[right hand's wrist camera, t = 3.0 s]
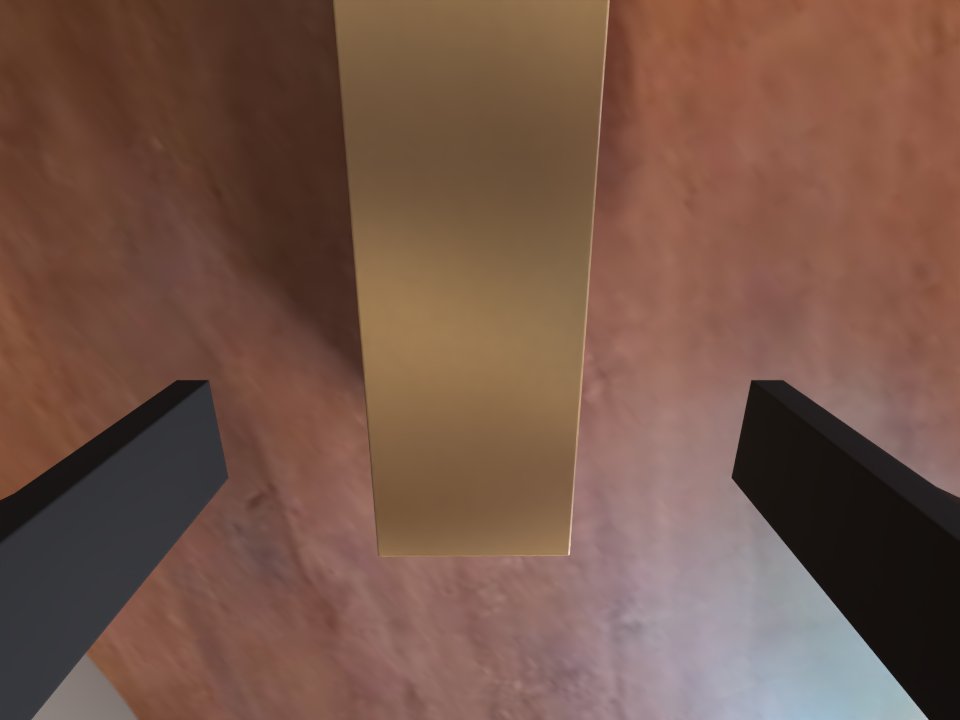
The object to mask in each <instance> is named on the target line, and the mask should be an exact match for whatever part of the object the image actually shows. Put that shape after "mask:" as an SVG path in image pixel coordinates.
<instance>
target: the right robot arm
mask: <svg viewBox="0 0 960 720" xmlns="http://www.w3.org/2000/svg"><path fill="white" fill-rule="evenodd" d="M227 479H228V473H227V468H226V464H225V459H224V454H223V449H222V444H221V439H220V434H219V429H218V424H217V419H216V414H215V409H214V404H213V399H212V395H211V390H210V385H209V380H177V381H175V382H174V383H172V384H171V385H170V386H168V387H167V388H165V389H164V390H162V391H161V392H159V393H158V394H157V395H155V396H154V397H152V398H151V399H149V400H148V401H147V402H145V403H144V404H142V405H141V406H139V407H138V408H136V409H135V410H134V411H132V412H131V413H129V414H128V415H126V416H125V417H124V418H122V419H121V420H119V421H118V422H116V423H115V424H114V425H112V426H111V427H109V428H108V429H106V430H105V431H103V432H102V433H101V434H99V435H98V436H96V437H95V438H93V439H92V440H91V441H89V442H88V443H86V444H85V445H83V446H82V447H80V448H79V449H78V450H76V451H75V452H73V453H72V454H70V455H69V456H68V457H66V458H65V459H63V460H62V461H60V462H59V463H58V464H56V465H55V466H53V467H52V468H50V469H49V470H47V471H46V472H45V473H43V474H42V475H40V476H39V477H37V478H36V479H35V480H33V481H32V482H30V483H29V484H27V485H26V486H24V487H23V488H22V489H20V490H19V491H17V492H16V493H14V494H12V495H10V496H8V497H6V498H4V499H2V500H0V720H31V719H32V718H33V717H34V716H35V714H36V713H37V712H38V711H39V709H40V708H41V707H42V706H43V705H44V703H45V702H46V701H47V700H48V698H49V697H50V696H51V695H52V694H53V692H54V691H55V690H56V689H57V687H58V686H59V685H60V684H61V682H62V681H63V680H64V679H65V678H66V676H67V675H68V674H69V673H70V671H71V670H72V669H73V668H74V667H75V665H76V664H77V663H78V662H79V660H80V659H81V658H82V657H83V655H84V654H85V653H86V652H87V651H88V649H89V648H90V647H91V646H92V644H93V643H94V642H95V641H96V640H97V638H98V637H99V636H100V635H101V633H102V632H103V631H104V630H105V629H106V627H107V626H108V625H109V624H110V622H111V621H112V620H113V619H114V618H115V616H116V615H117V614H118V613H119V611H120V610H121V609H122V608H123V606H124V605H125V604H126V603H127V602H128V600H129V599H130V598H131V597H132V595H133V594H134V593H135V592H136V591H137V589H138V588H139V587H140V586H141V584H142V583H143V582H144V581H145V579H146V578H147V577H148V576H149V575H150V573H151V572H152V571H153V570H154V568H155V567H156V566H157V565H158V564H159V562H160V561H161V560H162V559H163V557H164V556H165V555H166V554H167V553H168V551H169V550H170V549H171V548H172V546H173V545H174V544H175V543H176V541H177V540H178V539H179V538H180V537H181V535H182V534H183V533H184V532H185V530H186V529H187V528H188V527H189V526H190V524H191V523H192V522H193V521H194V519H195V518H196V517H197V516H198V514H199V513H200V512H201V511H202V510H203V508H204V507H205V506H206V505H207V503H208V502H209V501H210V500H211V499H212V497H213V496H214V495H215V494H216V492H217V491H218V490H219V489H220V488H221V486H222V485H223V484H224V483H225V481H226V480H227ZM732 479H733V480H734V481H735V483H736V484H737V485H738V486H739V488H740V489H741V490H742V491H743V492H744V494H745V495H746V496H747V497H748V499H749V500H750V501H751V502H752V503H753V505H754V506H755V507H756V508H757V510H758V511H759V512H760V513H761V514H762V516H763V517H764V518H765V519H766V521H767V522H768V523H769V524H770V526H771V527H772V528H773V529H774V530H775V532H776V533H777V534H778V535H779V537H780V538H781V539H782V540H783V541H784V543H785V544H786V545H787V546H788V548H789V549H790V550H791V551H792V553H793V554H794V555H795V556H796V557H797V559H798V560H799V561H800V562H801V564H802V565H803V566H804V567H805V568H806V570H807V571H808V572H809V573H810V575H811V576H812V577H813V578H814V579H815V581H816V582H817V583H818V584H819V586H820V587H821V588H822V589H823V591H824V592H825V593H826V594H827V595H828V597H829V598H830V599H831V600H832V602H833V603H834V604H835V605H836V606H837V608H838V609H839V610H840V611H841V613H842V614H843V615H844V616H845V618H846V619H847V620H848V621H849V622H850V624H851V625H852V626H853V627H854V629H855V630H856V631H857V632H858V633H859V635H860V636H861V637H862V638H863V640H864V641H865V642H866V643H867V644H868V646H869V647H870V648H871V649H872V651H873V652H874V653H875V654H876V656H877V657H878V658H879V659H880V660H881V662H882V663H883V664H884V665H885V667H886V668H887V669H888V670H889V671H890V673H891V674H892V675H893V676H894V678H895V679H896V680H897V681H898V682H899V684H900V685H901V686H902V687H903V689H904V690H905V691H906V692H907V694H908V695H909V696H910V697H911V698H912V700H913V701H914V702H915V703H916V705H917V706H918V707H919V708H920V709H921V711H922V712H923V713H924V714H925V716H926V717H927V718H928V719H929V720H960V498H959V497H957V496H954V495H952V494H950V493H948V492H946V491H944V490H942V489H940V488H938V487H936V486H934V485H933V484H931V483H930V482H928V481H927V480H925V479H924V478H923V477H921V476H920V475H918V474H917V473H915V472H914V471H913V470H911V469H910V468H908V467H907V466H905V465H904V464H902V463H901V462H900V461H898V460H897V459H895V458H894V457H892V456H891V455H890V454H888V453H887V452H885V451H884V450H882V449H881V448H880V447H878V446H877V445H875V444H874V443H872V442H871V441H869V440H868V439H867V438H865V437H864V436H862V435H861V434H859V433H858V432H857V431H855V430H854V429H852V428H851V427H849V426H848V425H846V424H845V423H844V422H842V421H841V420H839V419H838V418H836V417H835V416H834V415H832V414H831V413H829V412H828V411H826V410H825V409H824V408H822V407H821V406H819V405H818V404H816V403H815V402H813V401H812V400H811V399H809V398H808V397H806V396H805V395H803V394H802V393H801V392H799V391H798V390H796V389H795V388H793V387H792V386H790V385H789V384H788V383H786V382H785V381H783V380H751V385H750V390H749V395H748V399H747V404H746V409H745V414H744V419H743V424H742V429H741V434H740V439H739V444H738V449H737V454H736V459H735V464H734V468H733V473H732Z"/></svg>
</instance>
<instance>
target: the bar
mask: <svg viewBox="0 0 960 720" xmlns="http://www.w3.org/2000/svg"><path fill="white" fill-rule="evenodd" d="M609 2H610V0H333V10H334V22H335V34H336V46H337V58H338V71H339V83H340V95H341V107H342V120H343V132H344V144H345V156H346V168H347V181H348V193H349V205H350V217H351V230H352V242H353V254H354V266H355V278H356V291H357V303H358V315H359V327H360V340H361V352H362V364H363V376H364V388H365V401H366V413H367V425H368V437H369V449H370V462H371V474H372V486H373V498H374V511H375V523H376V535H377V547H378V555H379V556H380V557H392V556H568V555H569V554H570V544H571V530H572V516H573V502H574V488H575V474H576V460H577V446H578V432H579V419H580V405H581V391H582V377H583V363H584V349H585V335H586V321H587V307H588V293H589V280H590V266H591V252H592V238H593V224H594V210H595V196H596V182H597V168H598V154H599V141H600V127H601V113H602V99H603V85H604V71H605V57H606V43H607V29H608V16H609Z"/></svg>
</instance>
